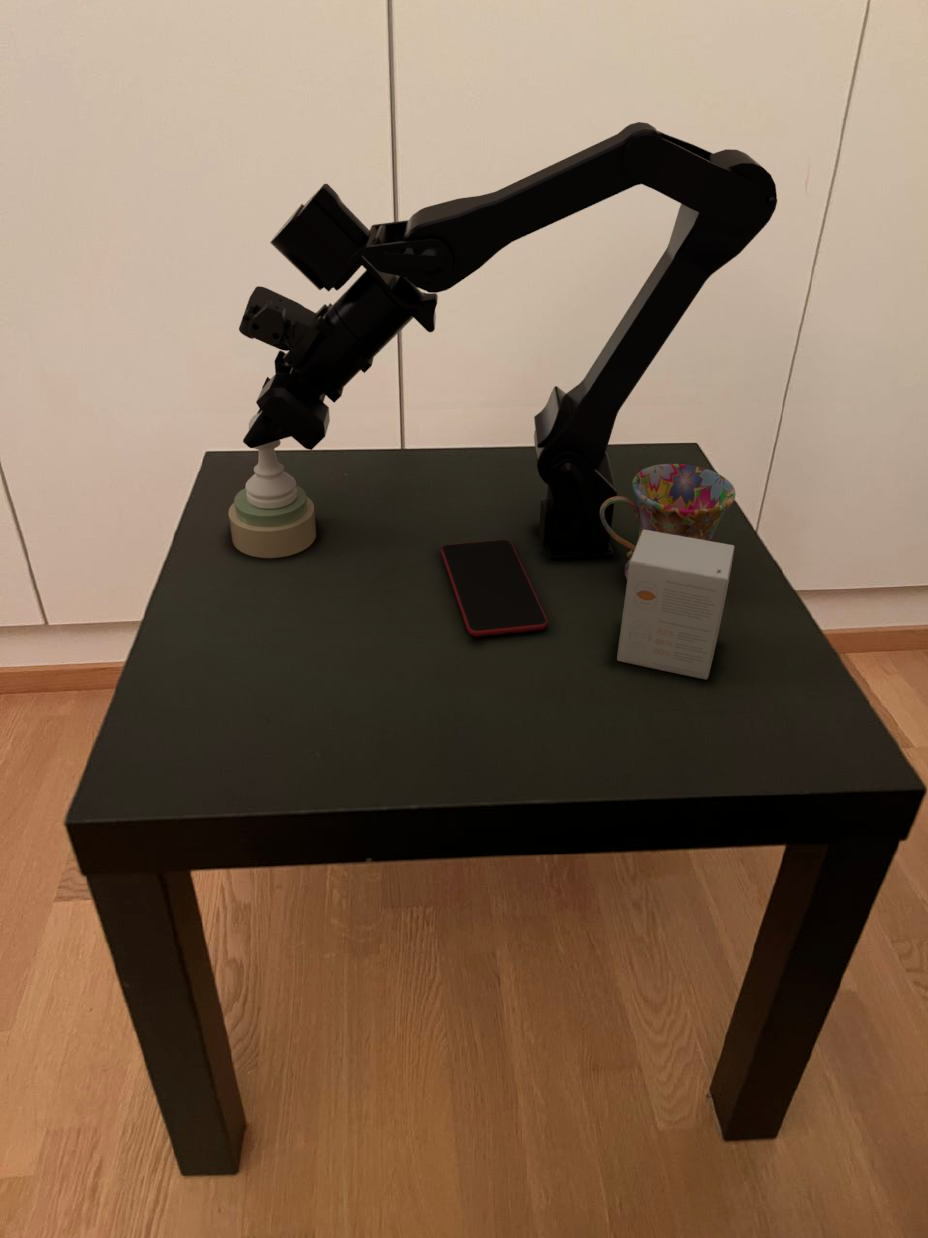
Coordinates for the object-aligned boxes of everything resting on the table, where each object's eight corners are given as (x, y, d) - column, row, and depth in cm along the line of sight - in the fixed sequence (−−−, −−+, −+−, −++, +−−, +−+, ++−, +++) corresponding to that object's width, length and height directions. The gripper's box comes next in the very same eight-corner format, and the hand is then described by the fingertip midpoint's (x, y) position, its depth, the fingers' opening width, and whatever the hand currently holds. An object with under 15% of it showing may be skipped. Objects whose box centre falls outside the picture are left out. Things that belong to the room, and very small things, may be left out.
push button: (316, 514, 102) (313, 476, 100) (316, 556, 95) (312, 517, 93) (235, 517, 101) (230, 479, 99) (228, 560, 94) (223, 521, 92)
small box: (715, 645, 85) (738, 544, 78) (707, 682, 80) (730, 579, 74) (627, 626, 87) (641, 526, 81) (614, 662, 82) (629, 559, 76)
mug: (704, 558, 96) (723, 463, 90) (724, 611, 89) (746, 512, 83) (587, 556, 96) (597, 461, 90) (596, 608, 89) (609, 509, 83)
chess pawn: (276, 481, 98) (267, 399, 93) (307, 497, 96) (299, 413, 90) (237, 497, 96) (224, 414, 90) (267, 515, 93) (256, 429, 87)
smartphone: (469, 633, 84) (439, 544, 96) (469, 641, 84) (439, 552, 96) (550, 624, 85) (510, 538, 97) (549, 632, 86) (510, 545, 97)
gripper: (304, 232, 90) (204, 344, 96) (270, 292, 74) (154, 421, 81) (390, 316, 94) (289, 418, 101) (375, 390, 79) (257, 504, 85)
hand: (250, 437), depth 92 cm, fingers open, 3 cm apart
